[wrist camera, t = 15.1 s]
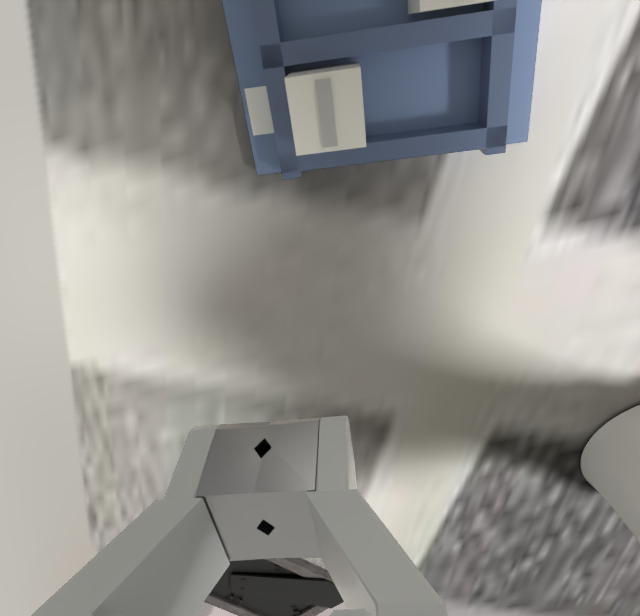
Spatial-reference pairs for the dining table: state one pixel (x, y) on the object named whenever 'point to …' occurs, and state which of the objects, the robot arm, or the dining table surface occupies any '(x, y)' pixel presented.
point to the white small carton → (438, 4)
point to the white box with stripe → (326, 108)
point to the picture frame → (274, 588)
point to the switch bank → (389, 75)
